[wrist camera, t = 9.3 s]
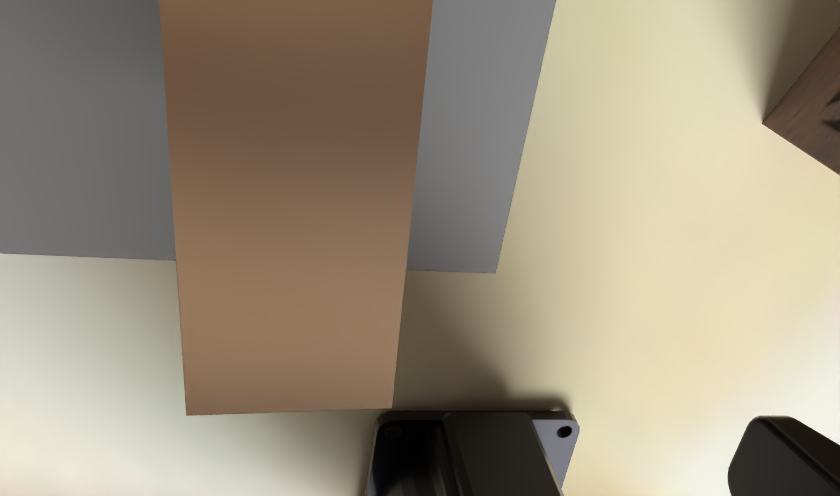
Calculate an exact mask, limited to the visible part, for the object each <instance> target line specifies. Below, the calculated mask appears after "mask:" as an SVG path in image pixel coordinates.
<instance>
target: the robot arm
mask: <svg viewBox="0 0 840 496" xmlns="http://www.w3.org/2000/svg"><path fill="white" fill-rule="evenodd" d="M393 426H396V427H397V428H396V429H394V430H388V428H389V427H393ZM562 426H566V427H564V428H563V429H559V428H561V427H562ZM579 428H580V427H579V425H578V423H577V421H576V419H575V417H574V415H573V414H571V413H570V412H566V411H391V412H386V413H384V414H382V415H381V416H380V417H379V418H378V419H377V421H376V423H375V429H374V436H373V443H372V449H371V456H370V462H369V469H368V476H367V482H366V489H365V495H364V496H564V495H563V493H562V490H561V488H562V485H563V481H564V478H565V475H566V472H567V469H568V466H569V463H570V459H571V456H572V453H573V450H574V447H575V444H576V441H577V437H578V434H579ZM728 485H729V489H730V493H731V495H732V496H840V445H838V444H837V443H835V442H833V441H832V440H830V439H828V438H827V437H825V436H823V435H822V434H820V433H818V432H817V431H815V430H813V429H812V428H810V427H808V426H806V425H805V424H803V423H801V422H800V421H798V420H796V419H794V418H792V417H789V416H758V417H755V418H754V419H753V420H752V421H750V422H749V424H748V426H747V428H746V430H745V432H744V435H743V437H742V439H741V441H740V443H739V446H738V448H737V450H736V452H735V455H734V457H733V459H732V461H731V463H730V466H729V470H728Z"/></svg>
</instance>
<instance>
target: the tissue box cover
mask: <svg viewBox="0 0 840 496" xmlns="http://www.w3.org/2000/svg"><path fill="white" fill-rule="evenodd" d="M762 124H763V125H765V126H766V127H768V128H769V129H771V130H772V131H774V132H775V133H777V134H778V135H780V136H781V137H783V138H784V139H786V140H787V141H789V142H790V143H792V144H793V145H795V146H796V147H798V148H799V149H801V150H802V151H804V152H805V153H807V154H808V155H810V156H811V157H813V158H814V159H816V160H817V161H819V162H820V163H822V164H823V165H825V166H826V167H828V168H829V169H831V170H832V171H834V172H835V173H837V174H838V175H840V27H839V29H838V30H837V31H836V32H835V34H834V35H833V36H832V37H831V39H830V40H829V41H828V42H827V44H826V45H825V46H824V47H823V49H822V50H821V51H820V52H819V54H818V55H817V56H816V57H815V58H814V60H813V61H812V62H811V63H810V65H809V66H808V67H807V68H806V70H805V71H804V72H803V73H802V75H801V76H800V77H799V78H798V80H797V81H796V82H795V83H794V85H793V86H792V87H791V88H790V90H789V91H788V92H787V93H786V95H785V96H784V97H783V98H782V100H781V101H780V102H779V103H778V105H777V106H776V107H775V108H774V110H773V111H772V112H771V113H770V115H769V116H768V117H767V118H766V119H765V121H764V122H763V123H762Z"/></svg>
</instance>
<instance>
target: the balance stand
mask: <svg viewBox="0 0 840 496" xmlns="http://www.w3.org/2000/svg"><path fill="white" fill-rule="evenodd" d="M555 2H556V0H433V7H432V17H431V27H430V37H429V47H428V57H427V66H426V76H425V86H424V96H423V106H422V116H421V126H420V136H419V146H418V156H417V165H416V175H415V185H414V195H413V205H412V215H411V225H410V235H409V245H408V254H407V264H406V270H426V271H450V272H475V273H496V269H497V264H498V260H499V255H500V251H501V246H502V242H503V237H504V233H505V228H506V224H507V219H508V215H509V210H510V206H511V201H512V196H513V192H514V187H515V183H516V178H517V174H518V169H519V165H520V160H521V156H522V151H523V147H524V142H525V138H526V133H527V129H528V124H529V120H530V115H531V111H532V106H533V102H534V97H535V93H536V88H537V84H538V79H539V75H540V70H541V66H542V61H543V57H544V52H545V48H546V43H547V39H548V34H549V29H550V25H551V20H552V16H553V11H554V7H555ZM0 253H4V254H29V255H54V256H78V257H103V258H128V259H153V260H176V250H175V234H174V219H173V204H172V189H171V174H170V159H169V143H168V128H167V113H166V98H165V83H164V68H163V52H162V37H161V22H160V7H159V0H0Z"/></svg>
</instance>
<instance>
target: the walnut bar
mask: <svg viewBox="0 0 840 496" xmlns="http://www.w3.org/2000/svg"><path fill="white" fill-rule="evenodd" d="M159 7H160V22H161V37H162V52H163V68H164V83H165V98H166V113H167V128H168V143H169V159H170V174H171V189H172V204H173V219H174V234H175V250H176V265H177V280H178V295H179V310H180V326H181V341H182V356H183V371H184V386H185V401H186V416H190V415H217V414H245V413H272V412H300V411H328V410H355V409H383V408H392V403H393V393H394V383H395V373H396V363H397V353H398V344H399V334H400V324H401V314H402V304H403V294H404V284H405V274H406V264H407V254H408V245H409V235H410V225H411V215H412V205H413V195H414V185H415V175H416V165H417V156H418V146H419V136H420V126H421V116H422V106H423V96H424V86H425V76H426V66H427V57H428V47H429V37H430V27H431V17H432V7H433V0H159Z"/></svg>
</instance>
